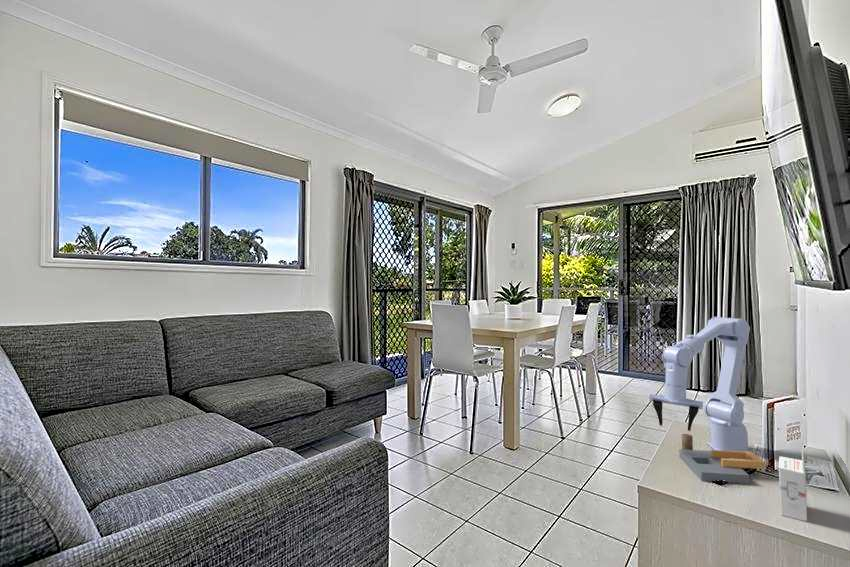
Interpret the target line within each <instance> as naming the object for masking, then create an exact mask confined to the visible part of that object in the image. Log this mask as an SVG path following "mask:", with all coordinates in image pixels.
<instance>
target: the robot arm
mask: <svg viewBox="0 0 850 567" xmlns="http://www.w3.org/2000/svg"><path fill="white" fill-rule="evenodd" d="M750 331H751V327H750V325H749V322H748V321H747V320H746V319H745V318H734V317H733V318H732V317H721V316H713V317H711V318H710V319H709V320H708V321H707V325H706V326H705V327H703V329H702V330H700V331H699V332H697V334H686V335H685V337H684V338H683V339H682V340H680V341H679V342H676V343H675V345H672V346H671V345H669V346H667V347H665V348H664V349H663V351H662V354H661V360H662V362H663V367H664V369H665V385H664V386H665V387H664V390H665V391H664V392H665V393H664V395H661V394H651V393H650V394H649V397H648V398H649V402H652V405H653V406H652V407H653V408H654V411H655V412H656V416H657V418H658V424H659V426H660V427H662V426H663V423H664V420H663V405H664V404H670V405H675V406H682V407H686V408H687V407H688V423H687V432H691V430H692V424H693V422H694V420H695V418H696V416H697V415H698V413H699V410H704V414H705V415H706V416H707V417H708V420H709V421H710V429H711V431H710V435H711V437H710V438H711V441H706V444H707V445H708V446H709V447H710V448H712V450H727V451H748V452H749V437H748V430H747V428H746V426H745V424H744V423H742V422H743V421H744V419H745V411H744V406H745V405H744V402H743V401H742V400H741V399H740V398H739V397H738V396H737V393H738V387H739V381H740V377H741V376H740V375H741V369H742V364H743V359H744V353H745V349H746V348H745V347H746V345H748V341H749V337H750V336H749V335H750ZM715 338H716V339H717V340H718V341H719V342H721V343H723V345H724V349H723V350H724V352H723V356H722V362H721V367H720V371H719V377H718V383H717V388H716V391H714V392H712V393H710V394H708V396H707V400H706V402H705V403H703V401H699V400H694V399H690V398H687V382H688V381H687V378H688V377H687V374H688V370H687V369H688V366H690V364H691V363H692V361H693V359H694V357H695V356H696V355H697V354H699V353H701V351H703V350H704V349H705V344H707V343H708V342H710V341H712V340H713V339H715ZM663 403H664V404H663Z"/></svg>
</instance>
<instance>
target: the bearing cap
mask: <svg viewBox="0 0 850 567" xmlns="http://www.w3.org/2000/svg"><path fill="white" fill-rule="evenodd" d="M710 451H711V456H712V457H713V458H721V465H722V466H723V467H738V468H741V469H757V470H758V469H761V470H766V461H764V460H763V459H762V458H761V457H759V456H757V455H756V454H755V453H753V452H752V451H749V450H748V451H727V450H714V449H711V450H710ZM724 458H729V459H724Z"/></svg>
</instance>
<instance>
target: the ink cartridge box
mask: <svg viewBox="0 0 850 567" xmlns="http://www.w3.org/2000/svg"><path fill="white" fill-rule="evenodd" d="M801 458H802V459H797V458H791V457H786V456H779V458H778V475H779V476H778V478H779V493H780V494H779V496H780V515H781V516H784V517H788V518H792V519H795V520H799V521H801V522H802V521H803V522H808V508H807V507H808V504H807V497H808V496H807V475H806V474H807V473H806V465H805V455H804V450H803V449H801Z"/></svg>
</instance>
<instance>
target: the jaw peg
mask: <svg viewBox="0 0 850 567" xmlns="http://www.w3.org/2000/svg"><path fill="white" fill-rule="evenodd" d="M693 445H694V441H693V435H692V434H689V433H683V434H681V449H682V450H694V446H693Z"/></svg>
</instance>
